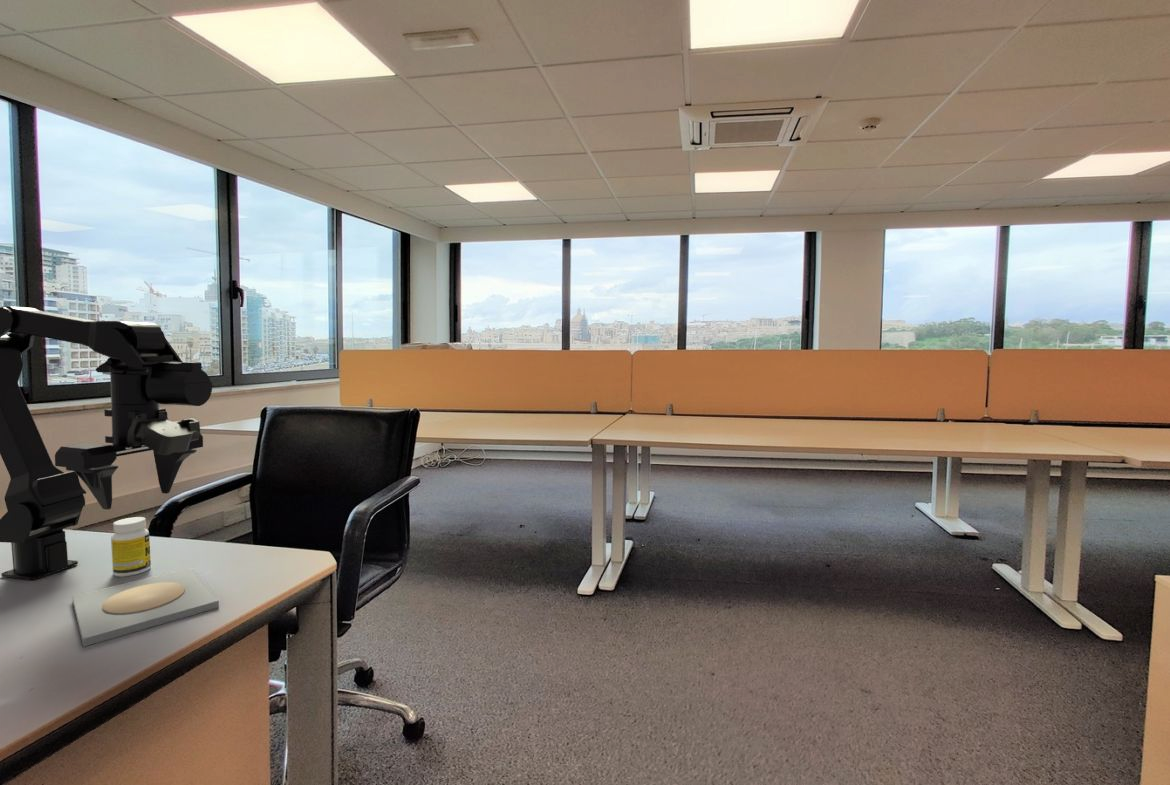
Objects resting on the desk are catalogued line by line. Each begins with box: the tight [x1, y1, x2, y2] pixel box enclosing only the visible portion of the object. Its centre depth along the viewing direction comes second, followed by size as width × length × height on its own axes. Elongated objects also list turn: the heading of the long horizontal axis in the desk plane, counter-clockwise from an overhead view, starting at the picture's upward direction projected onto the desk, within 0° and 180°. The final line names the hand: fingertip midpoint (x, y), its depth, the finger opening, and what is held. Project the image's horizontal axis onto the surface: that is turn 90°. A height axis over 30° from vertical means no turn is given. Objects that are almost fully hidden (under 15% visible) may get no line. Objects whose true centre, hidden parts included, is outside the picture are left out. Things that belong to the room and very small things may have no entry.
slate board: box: [72, 567, 220, 648], centre depth 76 cm, size 16×14×1 cm
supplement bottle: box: [110, 516, 152, 578], centre depth 87 cm, size 5×5×8 cm
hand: (137, 500), depth 85 cm, fingers open, 9 cm apart
